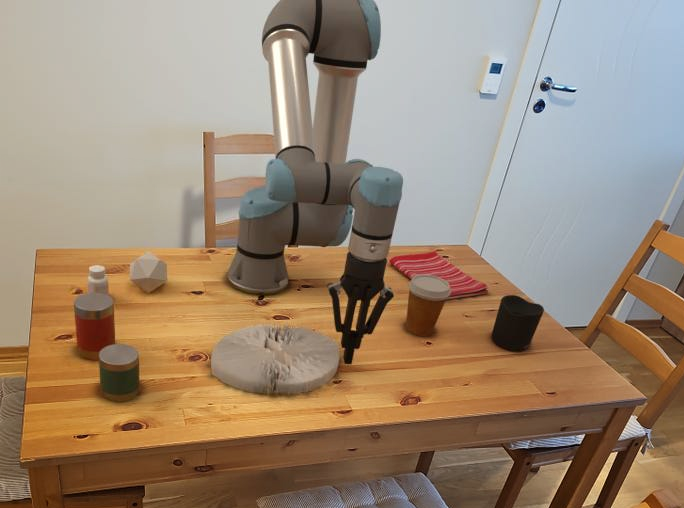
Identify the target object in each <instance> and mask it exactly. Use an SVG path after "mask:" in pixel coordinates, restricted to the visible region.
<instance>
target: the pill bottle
mask: <svg viewBox="0 0 684 508" xmlns="http://www.w3.org/2000/svg"><path fill="white" fill-rule="evenodd" d="M87 293H103V294H106V295H109V293H110V292H109V278H108V276H107V275H106V267H105V266H103V265H101V264H100V265H99V264H95V265H91V266H89V268H88V277H87ZM109 296H110V295H109Z"/></svg>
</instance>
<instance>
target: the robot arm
mask: <svg viewBox="0 0 684 508" xmlns="http://www.w3.org/2000/svg"><path fill="white" fill-rule="evenodd" d="M381 35H382V24H381V13H380V10H379V7H378V5H377V3H376V1H375V0H278V1H277V2H276V4H275V5H274V6H273V7H272V9H271V10H270V12H269V13H268V16H267V17H266V20H265V22H264V25H263V28H262V36H261V49H262V55H263V57H264V59H265V61H266V62H268V75H269V76H268V78H269V91H270V103H271V117H272V129H273V144H274V156H275V158H271V159H270V160H268V162H267V163H266V168H265V173H264V174H265V175H264V176H265V177H264V179H265V180H264V181H265V182H264V186H257V187H254V188H250V189H249V190H247V191H246V192H244V193H243V194H242V196H241V198H240V204H239V210H238V217H239V218H238V231H237V242H236V250H235V253H234V255H233V258H232V260H231V262H230V265H229V268H228V271H227V279H226V280H227V282H228V285H230V286H231V287H233V288H234V289H235V290H238V291H240V292H242V293H245V294H250V295H258V296H269V295H275V294H278V293H281V292H283V291H284V290H286V289H287V287H288V285H289V273H288V269H287V264H286V259H285V248H286V246H297V247H299V246H300V247H302V246H303V247H319V248H320V247H321V248H327V247H329V248H330V247H339V246H341V245H342V244H343V243H344V242H345V241H346V239H347V238H348V237H349V236H350V237H349V241H348V247H347V250H348V252H347V253H346V260H345V264H344V271H343V274H342V275H341V276H340V277H339V280H338V281H337V282H334V283H333V282H328V284H327V290H328V294H329V295H330V297H331V301H332V311H333V313H332V314H333V320H334V321H333V322H334V328H335V331H336V333H341V338H340V345H341V349H343V353H342V354H343V355H342V359H343V363H344V365H352V364H353V360H354V353H355V350H359V349H360V348H361V344H362V339H363V338H364V337H365V336H364V335H372V334H373V333H374V331H375V329H376V327H377V325H378V323H379V321H380V319H381V316H382V314H383V312H384V310H385V309H386V306H387V305H388V303H390V302H391V301H392V299H393V298H395V294H394V292H393V288H391V287H388V286H386V284H385V282H384V277H385V273H386V269H387V263H388V256H389V253H390V249H391V243H392V238H393V234H394V229H395V225H396V221H397V216H398V212H399V207H400V204H401V203H400V202H401V200H402V196H403V185H404V177H403V175H402V174H401V173H400V172H399V171H396V170H394V169H392V168H389V167H383V166H374V165H373V164H370V162H368V161H367V160H364V159H362V158H352V159H350V160H348V161H347V157H348V149H349V143H350V136H351V135H350V134H351V129H352V128H351V127H352V122H353V114H354V107H355V100H356V93H357V87H358V79H359V77H360V75H362V73H364V72H365V71H366V70H367V67H368V61H372V60H374V59H375V58H376V57H377V55H378V51H379V49H380V46H381V37H382V36H381ZM309 54H311V55H312V54H313V60H312V63H313V65H314V67H315V68H316V69H317V72H318V78H317V87H316V96H315V104H314V112H313V119H312V110H311V109H312V108H311V97H310V88H309V77H308V67H307V57H308V55H309ZM349 234H350V235H349ZM341 289H343V291H344V293H345V295H346V296H347V303H346V307H345V308H346V309H345V314H344V318H343V319H344V320H343V323H342V314H341V304H340V297H339V295H340V294H341V292H342V291H341ZM378 294H379V296H378V298H377V300H376V302H375V303H374V306H373V308H372V310H371V312H370V314H369V315H368V313H369V309H370V304H371V301H372V300H373V299H374V298H375V297H376V296H377V295H378ZM358 301H360V303H359V308H358V312H357V313H358V314H357V319H356V324H355V329H352V327H353V322H354V317H355V313H356V307H357V304H358ZM367 317H368V318H367Z"/></svg>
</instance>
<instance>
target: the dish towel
mask: <svg viewBox="0 0 684 508" xmlns="http://www.w3.org/2000/svg"><path fill="white" fill-rule="evenodd" d="M389 264H390V265H391V266H393V267H394V268H395V269H396V270H398V272H400V273H402V274H403V275H404V276H406V277H407V278H408V279H409V280H410V281H411V280H412V278H413V277H414V276H416V275H431V276H436V277H439V278H441V279H443V280H445V281H446V282H448V284H449V285H450V291H451V293H450V295H449V296H448V298H447V299H446V301H447V300H453V299H459V298H461V299H462V298H467V297H475V296H479V295H480V296H481V295H486V294H488V293H489V290H487V289H488V285H487V283H484V282H482V281H480V280H477V279H475V278H474V277H472V276H470V275H469V274H467V273H465V272H463V271H462V270H460V269H459V268H458V267H457V266H455V265H454V264H452V263H451V262H449V261H447V260H446V259H445V258H444V257H442V256H440V255H439V254H438V252H436V251H430V252H426V253H425V252H424V253H414V254H403V255H401V254H400V255H396V256H393V257H391V258H390V259H389Z"/></svg>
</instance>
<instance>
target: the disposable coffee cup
mask: <svg viewBox="0 0 684 508" xmlns="http://www.w3.org/2000/svg"><path fill="white" fill-rule="evenodd" d="M407 284H408V290H409V291H408V300H407V301H408V302H407V309H406V321H405V328H406V330H407V331H408V332H409V333H411V334H413V335H416V336H421V337H422V336H423V337H424V336H425V337H426V336H430V335H432V334H433V331H434V329H435V327H436V324H437V322H438V320H439V317H440V316H441V313H442V310H443V308H444V306H445V303H446V301H447V300H448V299H447V298H448V296H449V295H450V293H451V291H450V285H449V284H448V282H446V281H445V280H443V279H441V278H439V277H436V276H431V275H416V276H414V277H413V278H412V280H411V279H410V281H409V282H408V283H407ZM446 299H447V300H446Z"/></svg>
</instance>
